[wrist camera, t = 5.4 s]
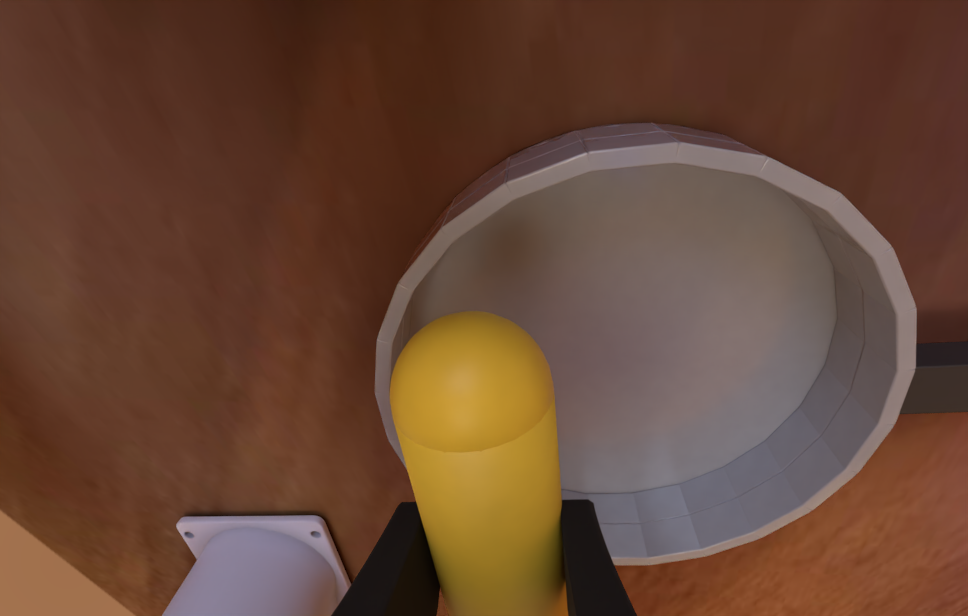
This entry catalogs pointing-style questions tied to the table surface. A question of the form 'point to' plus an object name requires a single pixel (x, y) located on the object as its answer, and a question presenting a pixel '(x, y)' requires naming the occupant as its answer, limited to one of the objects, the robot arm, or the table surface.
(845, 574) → the table surface
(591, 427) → the pan
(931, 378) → the pan handle
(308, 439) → the table surface
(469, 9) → the table surface
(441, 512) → the yellow capsule
